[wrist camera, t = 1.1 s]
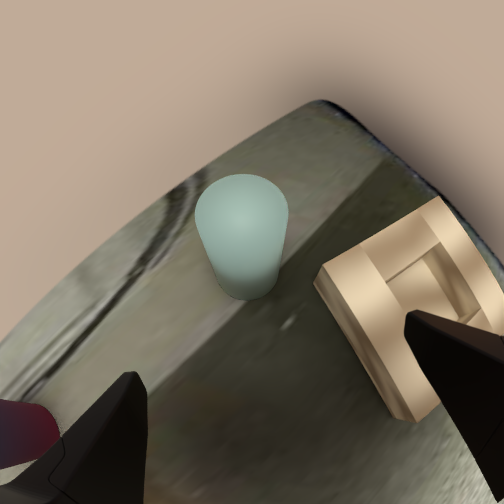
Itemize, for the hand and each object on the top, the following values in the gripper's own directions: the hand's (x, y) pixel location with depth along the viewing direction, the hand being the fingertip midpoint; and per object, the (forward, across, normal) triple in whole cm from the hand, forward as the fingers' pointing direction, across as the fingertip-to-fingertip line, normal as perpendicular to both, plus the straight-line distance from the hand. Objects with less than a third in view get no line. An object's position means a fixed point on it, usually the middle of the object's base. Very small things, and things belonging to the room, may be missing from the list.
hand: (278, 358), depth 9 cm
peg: (+15, 0, +4) cm, 16 cm away
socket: (+11, -13, +8) cm, 19 cm away
